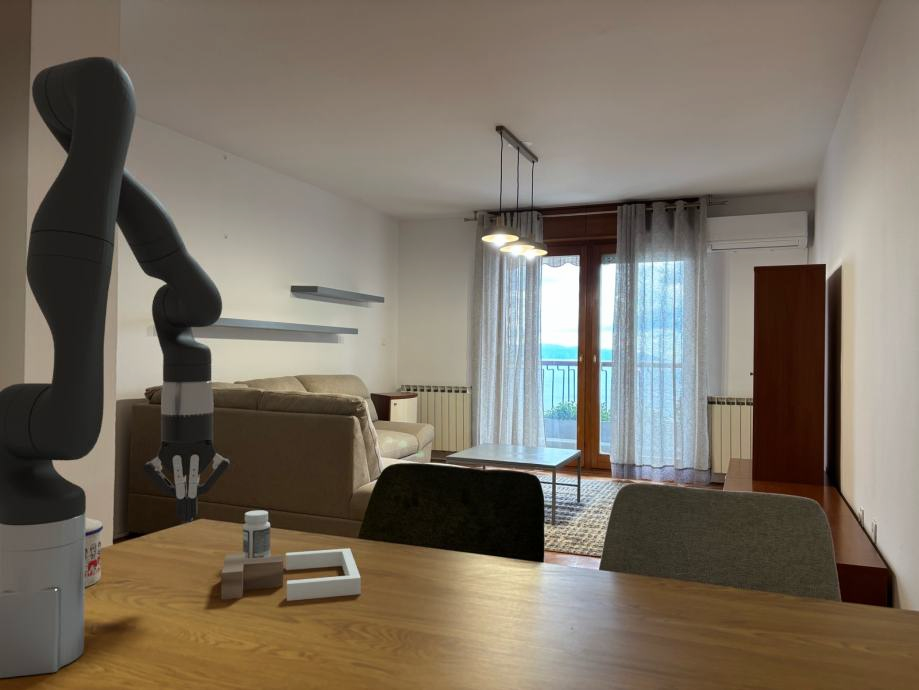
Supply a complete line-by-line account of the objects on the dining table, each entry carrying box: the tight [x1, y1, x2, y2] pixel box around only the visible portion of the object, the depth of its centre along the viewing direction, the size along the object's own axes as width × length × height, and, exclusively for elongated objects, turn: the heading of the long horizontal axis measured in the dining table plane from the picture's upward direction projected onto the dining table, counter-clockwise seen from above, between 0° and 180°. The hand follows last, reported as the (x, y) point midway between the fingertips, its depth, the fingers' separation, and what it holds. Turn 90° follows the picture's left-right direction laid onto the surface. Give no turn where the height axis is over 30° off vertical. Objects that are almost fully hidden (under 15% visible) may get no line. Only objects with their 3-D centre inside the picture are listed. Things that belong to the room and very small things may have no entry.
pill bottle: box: [242, 509, 271, 558], centre depth 119 cm, size 5×5×8 cm
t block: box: [220, 551, 284, 601], centre depth 106 cm, size 10×9×4 cm
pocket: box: [285, 547, 362, 602], centre depth 109 cm, size 16×11×2 cm
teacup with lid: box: [85, 517, 104, 588], centre depth 108 cm, size 12×9×12 cm
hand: (187, 521), depth 104 cm, fingers closed
